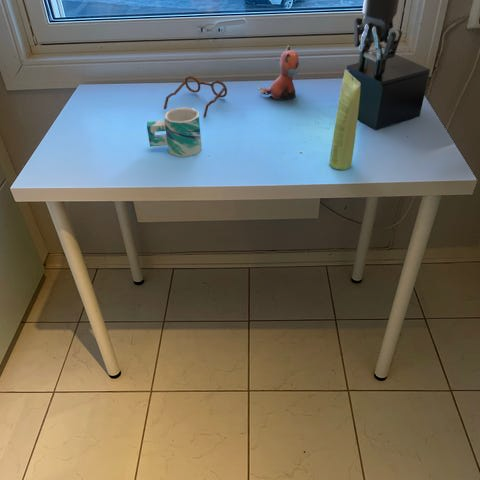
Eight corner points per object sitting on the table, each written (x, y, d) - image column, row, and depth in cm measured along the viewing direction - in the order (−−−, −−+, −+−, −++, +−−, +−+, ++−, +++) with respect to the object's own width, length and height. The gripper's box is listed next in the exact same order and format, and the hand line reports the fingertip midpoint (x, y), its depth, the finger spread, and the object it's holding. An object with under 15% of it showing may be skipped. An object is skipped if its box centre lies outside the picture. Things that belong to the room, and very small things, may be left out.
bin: (375, 130, 129) (382, 86, 121) (343, 112, 137) (348, 69, 129) (419, 116, 134) (429, 72, 126) (386, 99, 142) (394, 57, 134)
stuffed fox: (257, 91, 148) (256, 45, 139) (296, 89, 148) (298, 43, 139) (259, 102, 142) (259, 55, 134) (300, 100, 143) (302, 53, 134)
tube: (357, 163, 118) (371, 74, 104) (348, 173, 115) (360, 82, 101) (334, 157, 120) (345, 68, 106) (324, 166, 117) (334, 77, 103)
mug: (201, 156, 122) (198, 121, 116) (150, 159, 122) (144, 124, 116) (201, 139, 128) (198, 105, 122) (152, 142, 127) (146, 108, 121)
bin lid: (380, 85, 121) (384, 63, 117) (346, 69, 129) (349, 47, 125) (429, 72, 126) (434, 50, 123) (394, 57, 134) (398, 35, 130)
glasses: (228, 99, 144) (227, 80, 141) (204, 118, 136) (203, 99, 133) (187, 91, 149) (185, 73, 145) (162, 109, 141) (160, 90, 137)
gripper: (419, -6, 110) (403, 78, 122) (374, -20, 119) (363, 59, 131) (392, 0, 107) (378, 84, 119) (348, -15, 116) (339, 65, 128)
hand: (370, 71), depth 125 cm, fingers closed on bin lid, 5 cm apart
